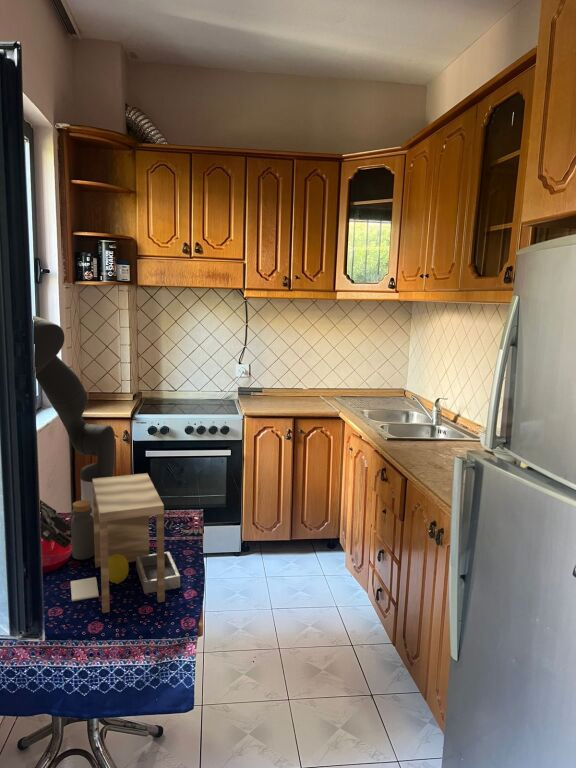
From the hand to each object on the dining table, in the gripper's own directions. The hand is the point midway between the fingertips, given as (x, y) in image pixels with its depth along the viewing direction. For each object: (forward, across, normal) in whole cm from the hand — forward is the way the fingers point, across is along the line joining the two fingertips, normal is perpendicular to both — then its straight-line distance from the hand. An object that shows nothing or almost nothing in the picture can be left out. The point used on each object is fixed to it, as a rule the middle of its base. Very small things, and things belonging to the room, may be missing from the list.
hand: (68, 536), depth 132 cm
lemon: (+18, 0, +2) cm, 18 cm away
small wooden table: (+20, 0, 0) cm, 20 cm away
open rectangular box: (+25, 0, -5) cm, 25 cm away
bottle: (+13, +19, +7) cm, 24 cm away
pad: (+12, 0, +8) cm, 15 cm away
